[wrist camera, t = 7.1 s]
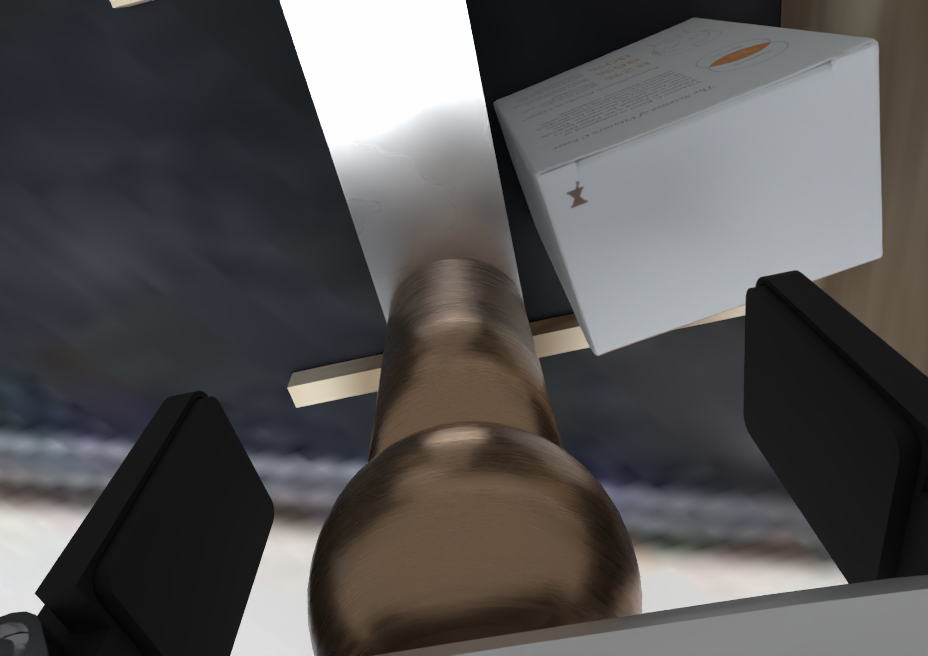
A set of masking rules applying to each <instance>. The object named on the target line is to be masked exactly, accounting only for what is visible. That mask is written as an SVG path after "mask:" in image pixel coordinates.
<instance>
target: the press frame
mask: <svg viewBox="0 0 928 656" xmlns="http://www.w3.org/2000/svg"><path fill="white" fill-rule="evenodd" d="M149 1H153V0H110V2H111V5H112V7H113V8H120V7H130V6H134V5H137V4H141V3H145V2H149ZM781 28H789V29H797V30H806V31H813V32H822V33H831V34H840V35H848V36H856V37H865V38H872V39H875V40H876V41H877V42H878V45H879V97H880V154H881V197H882V249H883V255H882V257H881V258H880V259H877V260H874V261H870V262H868V263H865V264H862V265H859V266H856V267H853V268H850V269H847V270H844V271H841V272H838V273H835V274H832V275H830V276H827V277H824V278H821V279H818V280H815V281H812V282H813V283H815V284H816V285H817V286H818V287H819V288H821V289H822V290H823V291H824V292H825V293H827V294H828V295H829V296H830V297H832V298H833V299H834V300H835V301H836V302H838V303H839V304H840V305H841V306H842V307H844V308H845V309H846V310H847V311H848V312H850V313H851V314H852V315H853V316H855V317H856V318H857V319H858V320H859V321H861V322H862V323H863V324H864V325H865V326H867V327H868V328H869V329H870V330H871V331H873V332H874V333H875V334H876V335H878V336H879V337H880V338H881V339H882V340H884V341H885V342H886V343H887V344H888V345H890V346H891V347H892V348H893V349H894V350H896V351H897V352H898V353H899V354H901V355H902V356H903V357H904V358H905V359H907V360H908V361H909V362H910V363H911V364H913V365H914V366H915V367H916V368H917V369H919V370H920V371H921V372H922V373H924V374H925V375H926V376H927V377H928V0H782V6H781ZM745 307H746V305H743V306H740V307H737V308H734V309H731V310H728V311H725V312H722V313H719V314H717V315H714V316H711V317H708V318H705V319H702V320H699V321H696V322H693V323H691V324H688V325H685V326H682V327H679V328H676V329H680V328H685V327H690V326H695V325H700V324H705V323H710V322H714V321H719V320H724V319H729V318H734V317H739V316H743V315H745ZM529 325H530V329H531V332H532V336H533V340H534V343H535V347H536V351H537V354H538V358H540V357H545V356H550V355H555V354H559V353H564V352H569V351H574V350H579V349H584V348H588V347H590V346H589V344H588V342H587V340H586V338H585V336H584V334H583V331H582V329H581V327H580V325H579V323H578V321H577V318H576V316H575V314H569V315H564V316H559V317H555V318H550V319H545V320H540V321H536V322H531V323H529ZM676 329H673V330H676ZM382 358H383V354H379V355H375V356H370V357H365V358H360V359H356V360H351V361H346V362H341V363H337V364H332V365H327V366H323V367H318V368H313V369H308V370H304V371H299V372H294V373H292V376H291V378H290V381H289V384H288V387H287V388H288V390H289V393H290V395H291V397H292V399H293V401H294V404H295V406H296V408H298V407H303V406H307V405H312V404H317V403H322V402H327V401H332V400H337V399H341V398H346V397H351V396H356V395H361V394H366V393H370V392H375V391H378V387H379V380H380V373H381V365H382Z"/></svg>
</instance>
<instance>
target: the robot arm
mask: <svg viewBox="0 0 928 656" xmlns="http://www.w3.org/2000/svg"><path fill="white" fill-rule="evenodd" d="M744 420H745V424H746V427H747V430H748V432H749V434H750V436H751V437H752V439H753V440H754V442H755V443H756V445H757V446H758V448H759V449H760V451H761V452H762V454H763V455H764V457H765V458H766V460H767V461H768V463H769V464H770V466H771V467H772V469H773V470H774V472H775V473H776V475H777V476H778V478H779V479H780V481H781V482H782V484H783V485H784V487H785V488H786V490H787V491H788V493H789V494H790V496H791V497H792V499H793V500H794V502H795V503H796V505H797V506H798V508H799V509H800V511H801V512H802V514H803V515H804V517H805V518H806V520H807V521H808V523H809V524H810V526H811V527H812V529H813V530H814V532H815V533H816V535H817V536H818V538H819V539H820V541H821V542H822V544H823V545H824V547H825V548H826V550H827V551H828V553H829V554H830V556H831V557H832V559H833V561H834V562H835V564H836V565H837V567H838V568H839V570H840V571H841V573H842V574H843V576H844V577H845V579H846V580H847V582H848V583H849V584H845V585H838V586H830V587H823V588H815V589H808V590H801V591H793V592H786V593H778V594H771V595H763V596H757V597H750V598H744V599H737V600H730V601H724V602H717V603H711V604H704V605H697V606H691V607H684V608H677V609H671V610H664V611H658V612H651V613H644V614H638V615H631V616H625V617H618V618H611V619H605V620H598V621H591V622H585V623H578V624H572V625H565V626H559V627H552V628H546V629H540V630H533V631H527V632H520V633H514V634H508V635H501V636H495V637H488V638H482V639H476V640H469V641H463V642H456V643H450V644H444V645H437V646H431V647H425V648H418V649H412V650H406V651H399V652H393V653H387V654H380V655H374V656H928V377H927V376H926V375H925V374H924V373H922V372H921V371H920V370H919V369H917V368H916V367H915V366H914V365H913V364H911V363H910V362H909V361H908V360H907V359H905V358H904V357H903V356H902V355H901V354H899V353H898V352H897V351H896V350H894V349H893V348H892V347H891V346H890V345H888V344H887V343H886V342H885V341H884V340H882V339H881V338H880V337H879V336H878V335H876V334H875V333H874V332H873V331H871V330H870V329H869V328H868V327H867V326H865V325H864V324H863V323H862V322H861V321H859V320H858V319H857V318H856V317H855V316H853V315H852V314H851V313H850V312H848V311H847V310H846V309H845V308H844V307H842V306H841V305H840V304H839V303H838V302H836V301H835V300H834V299H833V298H832V297H830V296H829V295H828V294H827V293H825V292H824V291H823V290H822V289H821V288H819V287H818V286H817V285H816V284H815V283H813V282H812V281H811V280H810V279H809V278H807V277H806V276H805V275H804V274H802V273H801V272H799V271H798V270H793V271H788V272H783V273H778V274H773V275H768V276H763V277H760V278H759V279H758V280H757V282H756V287H753V288H749V289H748V290H747V292H746V307H745V363H744ZM273 519H274V507H273V503H272V500H271V498H270V496H269V494H268V492H267V491H266V489H265V487H264V485H263V483H262V481H261V479H260V477H259V476H258V474H257V472H256V470H255V468H254V466H253V464H252V462H251V461H250V459H249V457H248V455H247V453H246V451H245V449H244V448H243V446H242V444H241V442H240V440H239V438H238V436H237V434H236V433H235V431H234V429H233V427H232V425H231V423H230V421H229V419H228V418H227V416H226V414H225V412H224V410H223V408H222V406H221V404H220V403H219V401H218V400H217V399H216V398H215V397H212V396H211V397H208V395H207V394H206V393H204V392H202V391H196V392H191V393H186V394H181V395H176V396H171V397H168V398H167V399H166V400H165V401H164V402H163V403H162V405H161V406H160V408H159V409H158V411H157V412H156V414H155V415H154V417H153V418H152V420H151V421H150V423H149V424H148V426H147V427H146V429H145V430H144V432H143V433H142V435H141V436H140V438H139V439H138V441H137V442H136V444H135V445H134V446H133V448H132V449H131V451H130V452H129V454H128V455H127V457H126V458H125V460H124V461H123V463H122V464H121V466H120V467H119V469H118V470H117V472H116V473H115V475H114V476H113V478H112V479H111V481H110V482H109V484H108V485H107V487H106V488H105V490H104V491H103V493H102V494H101V496H100V497H99V499H98V500H97V502H96V503H95V504H94V506H93V507H92V509H91V510H90V512H89V513H88V515H87V516H86V518H85V519H84V521H83V522H82V524H81V525H80V527H79V528H78V530H77V531H76V533H75V534H74V536H73V537H72V539H71V540H70V542H69V543H68V545H67V546H66V548H65V549H64V551H63V552H62V554H61V555H60V557H59V558H58V560H57V561H56V562H55V564H54V565H53V567H52V568H51V570H50V571H49V573H48V574H47V576H46V577H45V579H44V580H43V582H42V583H41V585H40V586H39V588H38V589H37V591H36V592H35V594H36V595H37V596H38V597H39V598H40V600H41V601H42V602H43V603H44V604H45V605H44V607H43V608H42V610H41V611H40V613H39V614H38V616H36V615H34V614H31V613H28V612H17V613H11V614H8V615H5V616H2V617H0V656H230V654H231V651H232V648H233V645H234V642H235V638H236V635H237V632H238V629H239V626H240V623H241V620H242V617H243V614H244V610H245V607H246V604H247V601H248V598H249V595H250V592H251V589H252V586H253V582H254V579H255V576H256V573H257V570H258V567H259V564H260V561H261V558H262V554H263V551H264V548H265V545H266V542H267V539H268V536H269V533H270V530H271V526H272V523H273Z"/></svg>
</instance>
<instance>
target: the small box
mask: <svg viewBox="0 0 928 656" xmlns="http://www.w3.org/2000/svg"><path fill="white" fill-rule="evenodd" d="M493 105H494V109H495V111H496V114H497V117H498V120H499V123H500V126H501V129H502V132H503V135H504V138H505V141H506V145H507V148H508V151H509V153H510V156H511V159H512V162H513V165H514V168H515V171H516V174H517V176H518V179H519V182H520V185H521V188H522V190H523V193H524V196H525V199H526V202H527V204H528V207H529V210H530V213H531V215H532V218H533V221H534V224H535V226H536V229H537V231H538V233H539V236H540V238H541V240H542V242H543V245H544V247H545V249H546V251H547V253H548V256H549V258H550V260H551V262H552V264H553V267H554V269H555V271H556V273H557V276H558V278H559V280H560V282H561V284H562V287H563V289H564V291H565V293H566V296H567V298H568V300H569V302H570V304H571V307H572V309H573V311H574V314H575V316H576V318H577V321H578V323H579V325H580V327H581V329H582V331H583V334H584V336H585V338H586V340H587V342H588V344H589V346H590V348H591V350H592V351H593V353H594V354H595V355H596V356H600V355H602V354H605V353H608V352H610V351H613V350H616V349H619V348H622V347H625V346H627V345H630V344H633V343H636V342H639V341H642V340H645V339H648V338H651V337H654V336H657V335H660V334H662V333H665V332H668V331H671V330H673V329H676V328H679V327H682V326H685V325H688V324H691V323H693V322H696V321H699V320H702V319H705V318H708V317H711V316H714V315H717V314H719V313H722V312H725V311H728V310H731V309H734V308H737V307H740V306H743V305H746V292H747V290H748V289H749V288H753V287H756V282H757V280H758V279H759V278H760V277H763V276H768V275H773V274H778V273H783V272H788V271H793V270H798V271H799V272H801V273H802V274H804V275H805V276H806V277H807V278H809V279H810V280H811V281H815V280H818V279H821V278H824V277H827V276H830V275H832V274H835V273H838V272H841V271H844V270H847V269H850V268H853V267H856V266H859V265H862V264H865V263H868V262H870V261H874V260H877V259H880V258H881V257H882V255H883V249H882V197H881V154H880V97H879V45H878V42H877V41H876V40H875V39H872V38H865V37H856V36H848V35H840V34H831V33H822V32H813V31H806V30H797V29H789V28H780V27H771V26H763V25H755V24H746V23H737V22H728V21H720V20H711V19H702V18H697V17H695V18H691V19H689V20H687V21H685V22H682V23H680V24H678V25H675V26H673V27H671V28H668V29H666V30H663V31H661V32H659V33H656V34H654V35H652V36H649V37H647V38H644V39H642V40H640V41H637V42H635V43H633V44H630V45H628V46H625V47H623V48H621V49H618V50H616V51H613V52H611V53H609V54H606V55H604V56H602V57H599V58H597V59H595V60H592V61H590V62H587V63H585V64H583V65H580V66H578V67H575V68H573V69H571V70H568V71H566V72H563V73H561V74H559V75H556V76H554V77H552V78H549V79H547V80H545V81H542V82H540V83H538V84H535V85H533V86H530V87H528V88H525V89H523V90H521V91H518V92H516V93H513V94H511V95H509V96H506V97H503V98H501V99H498V100H496V101H495V102H494V103H493Z"/></svg>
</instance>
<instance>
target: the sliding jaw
mask: <svg viewBox="0 0 928 656" xmlns="http://www.w3.org/2000/svg"><path fill="white" fill-rule="evenodd" d="M280 2H281V5H282V8H283V11H284V14H285V17H286V20H287V23H288V26H289V29H290V32H291V35H292V39H293V42H294V45H295V48H296V51H297V54H298V57H299V60H300V63H301V66H302V69H303V72H304V75H305V78H306V81H307V84H308V87H309V90H310V93H311V96H312V99H313V102H314V105H315V108H316V111H317V114H318V117H319V120H320V123H321V126H322V129H323V132H324V135H325V138H326V141H327V144H328V147H329V150H330V153H331V156H332V159H333V162H334V165H335V168H336V171H337V174H338V177H339V180H340V183H341V186H342V189H343V192H344V195H345V198H346V201H347V204H348V207H349V210H350V213H351V216H352V219H353V222H354V225H355V228H356V231H357V234H358V237H359V240H360V243H361V247H362V250H363V253H364V256H365V259H366V262H367V265H368V268H369V271H370V274H371V277H372V280H373V283H374V286H375V289H376V292H377V295H378V298H379V301H380V304H381V307H382V310H383V313H384V316H385V319H386V322H387V330H386V337H385V344H384V351H383V358H382V365H381V373H380V380H379V387H378V394H377V401H376V408H375V415H374V422H373V429H372V437H371V444H370V451H369V458H368V463H367V464H366V465H365V466H364V467H363V468H362V469H361V470H360V471H358V472H357V474H356V475H355V476H354V477H353V478H352V479H351V481H350V482H349V483H348V484H347V486H346V487H345V488H344V490H343V491H342V493H341V494H340V495H339V497H338V498H337V500H336V502H335V503H334V505H333V507H332V508H331V510H330V512H329V514H328V516H327V518H326V520H325V523H324V525H323V527H322V530H321V532H320V535H319V537H318V540H317V544H316V547H315V551H314V554H313V558H312V563H311V569H310V576H309V583H308V625H309V631H310V637H311V643H312V647H313V651H314V655H315V656H374V655H380V654H387V653H393V652H399V651H406V650H412V649H418V648H425V647H431V646H437V645H444V644H450V643H456V642H463V641H469V640H476V639H482V638H488V637H495V636H501V635H508V634H514V633H520V632H527V631H533V630H540V629H546V628H552V627H559V626H565V625H572V624H578V623H585V622H591V621H598V620H605V619H611V618H618V617H625V616H631V615H638V614H642V591H641V581H640V573H639V568H638V564H637V559H636V556H635V552H634V548H633V544H632V541H631V538H630V536H629V534H628V532H627V529H626V527H625V525H624V522H623V520H622V518H621V516H620V513H619V511H618V510H617V508H616V506H615V505H614V503H613V502H612V500H611V499H610V497H609V496H608V494H607V493H606V491H605V490H604V488H603V487H602V485H601V484H600V483H599V482H598V481H597V480H596V479H595V478H594V477H593V475H592V474H591V473H590V472H589V471H588V470H587V469H586V468H585V467H584V466H583V465H582V464H581V463H580V462H579V461H578V460H576V459H575V458H574V457H572V456H571V455H570V454H568V453H567V452H566V451H564V450H563V447H562V443H561V439H560V436H559V432H558V428H557V424H556V421H555V417H554V413H553V410H552V406H551V402H550V399H549V395H548V391H547V388H546V384H545V380H544V377H543V373H542V369H541V365H540V362H539V358H538V354H537V351H536V347H535V343H534V340H533V336H532V332H531V329H530V325H529V321H528V318H527V314H526V310H525V306H524V301H523V296H522V291H521V285H520V280H519V275H518V270H517V265H516V260H515V254H514V249H513V244H512V239H511V234H510V229H509V223H508V218H507V213H506V208H505V203H504V198H503V192H502V187H501V182H500V177H499V172H498V167H497V161H496V156H495V151H494V146H493V141H492V135H491V130H490V125H489V120H488V115H487V110H486V104H485V99H484V94H483V89H482V84H481V79H480V73H479V68H478V63H477V58H476V53H475V48H474V42H473V37H472V32H471V27H470V22H469V17H468V11H467V6H466V1H465V0H280Z"/></svg>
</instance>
